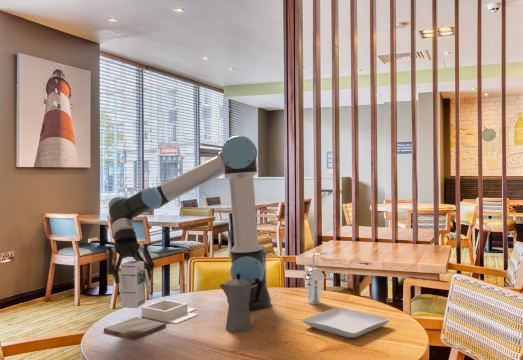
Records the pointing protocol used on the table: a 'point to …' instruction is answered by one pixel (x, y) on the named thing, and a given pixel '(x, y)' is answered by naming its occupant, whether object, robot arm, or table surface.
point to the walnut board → (135, 328)
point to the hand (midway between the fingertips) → (135, 289)
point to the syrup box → (133, 284)
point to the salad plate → (345, 322)
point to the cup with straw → (314, 283)
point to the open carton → (168, 311)
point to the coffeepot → (240, 302)
